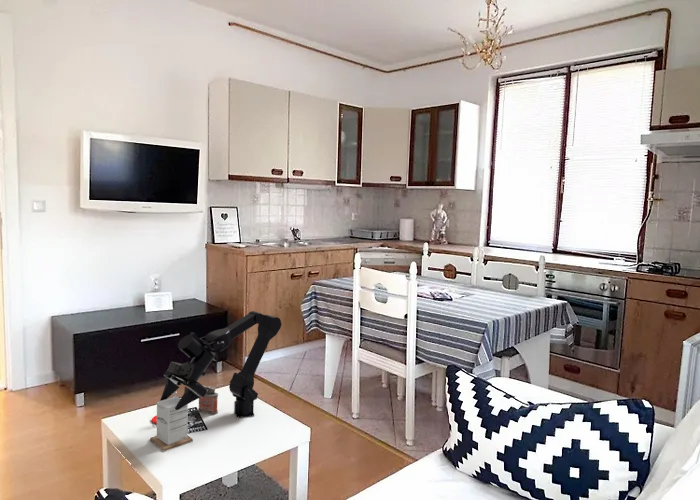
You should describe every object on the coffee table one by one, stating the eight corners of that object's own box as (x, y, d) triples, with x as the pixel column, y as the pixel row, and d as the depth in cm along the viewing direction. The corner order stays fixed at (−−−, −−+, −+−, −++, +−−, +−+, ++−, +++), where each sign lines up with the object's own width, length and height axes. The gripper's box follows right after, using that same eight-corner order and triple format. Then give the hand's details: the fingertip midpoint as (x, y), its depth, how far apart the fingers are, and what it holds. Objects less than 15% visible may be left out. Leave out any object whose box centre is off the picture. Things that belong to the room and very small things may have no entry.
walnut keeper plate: (178, 430, 172) (178, 428, 172) (192, 441, 165) (192, 438, 165) (149, 440, 165) (149, 437, 165) (164, 451, 158) (164, 449, 158)
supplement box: (155, 438, 165) (155, 401, 163) (176, 431, 170) (176, 395, 169) (167, 446, 160) (167, 408, 159) (188, 438, 165) (188, 401, 164)
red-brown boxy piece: (219, 412, 188) (220, 386, 187) (214, 415, 185) (214, 389, 184) (201, 408, 191) (201, 383, 190) (196, 411, 188) (196, 386, 187)
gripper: (168, 346, 171) (137, 385, 164) (199, 358, 159) (167, 401, 152) (189, 363, 178) (160, 401, 171) (219, 376, 166) (190, 418, 159)
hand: (168, 405), depth 163 cm, fingers open, 9 cm apart
